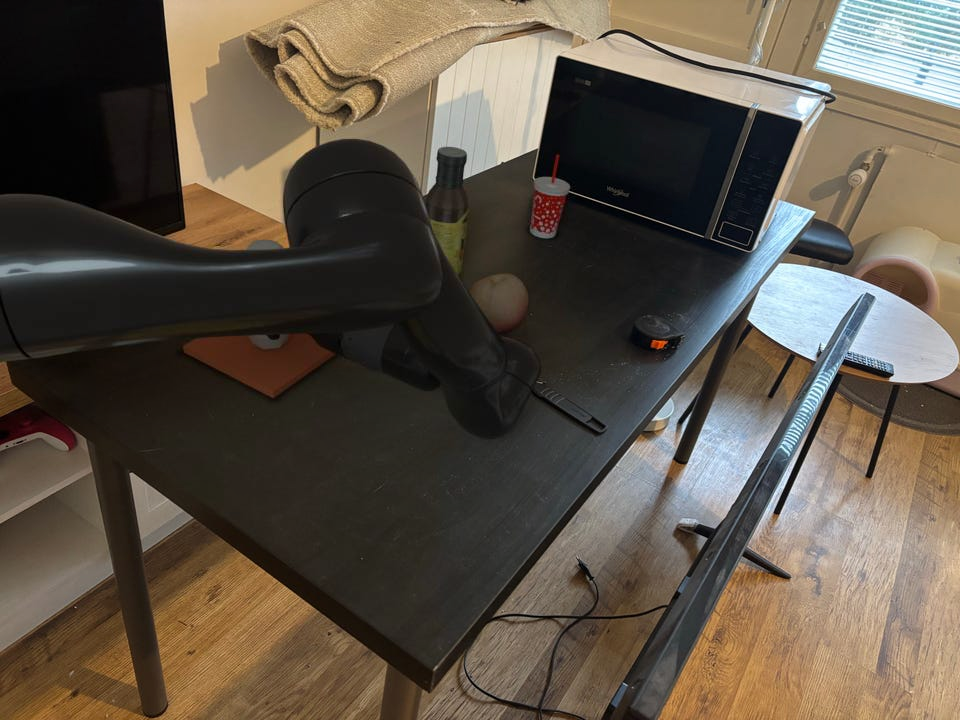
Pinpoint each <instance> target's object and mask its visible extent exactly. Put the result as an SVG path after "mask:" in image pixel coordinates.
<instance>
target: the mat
mask: <svg viewBox="0 0 960 720" xmlns="http://www.w3.org/2000/svg"><path fill="white" fill-rule="evenodd" d="M182 348H183V353H184V354H186V355H188V356H190V357H192V358H193V359H196V360H197V361H200V362H202V363H204V364H206V365H207V366H210V367H211V368H213V369H215V370H217V371H219V372H221V373H223V374H225V375H227V376H229V377H231V378H233V379H235V380H236V381H238V382H240V383H242V384H244V385H246V386H248V387H250V388H253V389H254V390H256V391H258V392H260V393H262V394H264V395H266V396H268V397H270V398H271V399H275V398H276V397H277V396H279V395H280V394H281V393H283V392H284V391H287V389H289V388H290V387H292V386H293V385H294V384H295V383H297V382H299V381H300V380H301V379H303V378H305V377H306V376H307V375H308V374H310V373H311V372H313V371H314V370H315V369H317V368H319V367H321V365H323V364H324V363H325V362H327V361H328V360H330V359H331V358H332V357H334V356H335V355H336V354H335V353H333V352H331V351H328V350H326V349H324V348H322V347H320V346H319V345H318V344H317V343H316V342H315V340H314V339H313V338H312V337H311V336H310V335H309V334H290V336H289V338H288V340H287V341H286V342H285V343H284V344H283V345H282V346H281V347H280V348H273V349H262V348H260V347H258V346H257V345H255V344H253V343H252V341H251V340H250V338H249V336H227V337H208V338H194V339H193V340H190V341H189V342H187V343H186V344H184V345H183V346H182Z"/></svg>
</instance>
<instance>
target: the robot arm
mask: <svg viewBox="0 0 960 720" xmlns="http://www.w3.org/2000/svg"><path fill="white" fill-rule="evenodd" d="M425 205H426V202H425V199H424V195H423V192H422V190H421V188H420V184H419V182H418V180H417V179H416V177H415V175H414V173H413V171H412V170H411V168H410V167H409V165H408V164H407V163H406V162H405V160H403V159H402V158H401V157H400V156H399V155H398V154H397V153H396V152H394V151H393V150H391V149H390V148H388V147H387V146H385V145H383V144H381V143H378V142H375V141H372V140H367V139H362V138H339V139H335V140H330V141H326V142H325V143H321V144H319V145H316V146H314V147H313V148H311V149H310V150H308V151H307V152H305V153H304V154H303V155H301V156H300V157H299V158H298V159H297V160H296V161H295V162H294V164H293V165H292V166H291V168H290V169H289V171H288V174H287V176H286V179H285V181H284V186H283V192H282V212H283V220H284V227H285V232H286V236H287V242H288V247H283V248H280V249H253V250H246V249H223V248H211V247H204V246H198V245H193V244H189V243H185V242H181V241H177V240H174V239H172V238H170V237H167V236H164V235H160V234H158V233H155V232H153V231H150V230H148V229H146V228H143V227H141V226H138V225H136V224H133V223H130V222H128V221H125V220H123V219H120V218H118V217H115V216H113V215H110V214H108V213H105V212H103V211H100V210H97V209H96V208H92V207H90V206H87V205H84V204H82V203H79V202H74V201H71V200H67V199H63V198H60V197H57V196H51V195H44V194H37V193H35V194H34V193H5V194H0V363H6V362H15V361H23V360H24V361H25V360H30V359H40V358H47V357H53V356H59V355H65V354H73V353H79V352H85V351H93V350H101V349H107V348H118V347H125V346H134V345H143V344H144V345H145V344H153V343H163V342H172V341H173V342H174V341H182V340H183V341H184V340H192V339H193V340H195V339H196V338H208V337H227V336H249V335H267V337H268V338H269V339H271V340H277V339H279V338H280V334H309V335H310V336H311V337H312V338H313V339H314V340H315V342H316V343H317V344H318V345H319V346H320V347H322V348H324V349H326V350H328V351H331V352H333V353H335V355H337V356H339V357H342V358H344V359H346V360H347V361H350V362H352V363H355V364H357V365H359V366H361V367H363V368H366V369H368V370H371V371H372V372H373V371H374V372H377V373H380V374H383V375H386V376H388V377H391V378H392V379H395V380H397V381H400V382H402V383H404V384H406V385H408V386H410V387H413V388H414V389H417V390H419V391H422V392H433V391H435V390H437V389H439V388H440V387H441V390H442V394H443V397H444V401H445V404H446V406H447V409H448V411H449V413H450V415H451V416H452V417H453V419H454V420H455V421H456V423H457V424H459V426H460V427H461V428H462V429H463V430H465V431H466V432H468V433H469V434H471V435H472V436H473V437H476V438H479V439H483V440H499V439H501V438H504V437H505V436H507V435H508V434H509V433H511V432H512V430H514V428H515V426H516V424H517V423H518V421H519V419H520V417H521V414H522V413H523V410H524V408H525V406H526V405H527V402H528V400H529V399H530V396H531V394H532V392H533V391H534V388H535V387H536V385H537V383H538V380H539V378H540V376H541V373H542V365H541V361H540V359H539V357H538V354H536V352H535V351H534V350H533V349H532V348H531V347H530V346H528V345H527V344H525V343H524V342H522V341H520V340H518V339H515V338H512V337H506V336H502V335H500V334H501V333H498V332H497V330H496V329H495V328H494V326H493V325H492V323H491V322H490V320H489V319H488V318H487V317H486V315H485V314H484V313H483V311H482V310H481V308H480V307H479V306H478V304H477V303H476V301H475V300H474V299H473V297H472V296H471V294H470V293H469V292H470V290H468V288H467V287H466V285H465V284H464V283H463V281H462V279H461V278H460V276H458V275H457V273H456V272H455V270H454V268H453V267H452V265H451V264H450V262H449V260H448V259H447V257H446V255H445V253H444V251H443V250H442V248H441V246H440V244H439V242H438V240H437V238H436V236H435V234H434V232H433V229H432V226H431V222H430V219H429V216H428V212H427V209H426V206H425Z"/></svg>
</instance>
